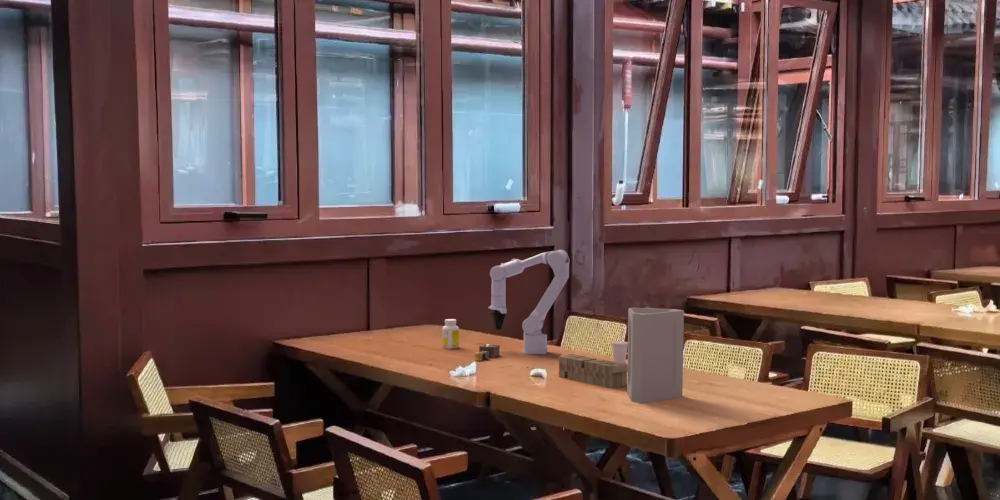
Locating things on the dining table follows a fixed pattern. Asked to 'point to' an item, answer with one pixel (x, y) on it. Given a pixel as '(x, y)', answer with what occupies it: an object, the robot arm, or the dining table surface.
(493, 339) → the dining table surface
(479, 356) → the knob-topped wooden stand
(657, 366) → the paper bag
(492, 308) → the robot arm
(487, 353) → the dowel
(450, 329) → the supplement bottle
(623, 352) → the smoothie
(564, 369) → the block tower
